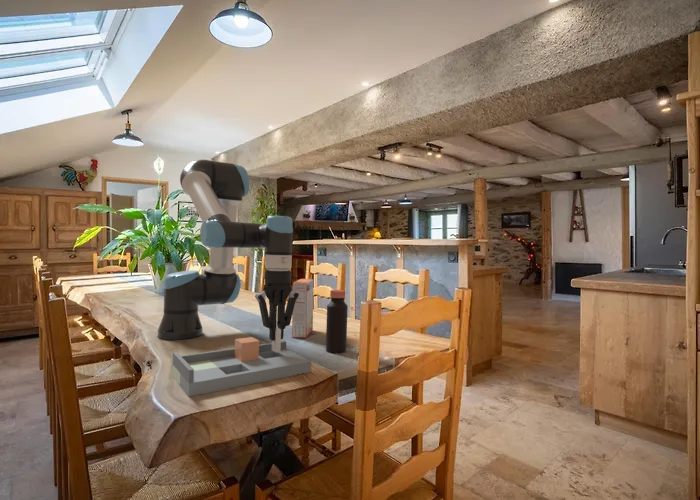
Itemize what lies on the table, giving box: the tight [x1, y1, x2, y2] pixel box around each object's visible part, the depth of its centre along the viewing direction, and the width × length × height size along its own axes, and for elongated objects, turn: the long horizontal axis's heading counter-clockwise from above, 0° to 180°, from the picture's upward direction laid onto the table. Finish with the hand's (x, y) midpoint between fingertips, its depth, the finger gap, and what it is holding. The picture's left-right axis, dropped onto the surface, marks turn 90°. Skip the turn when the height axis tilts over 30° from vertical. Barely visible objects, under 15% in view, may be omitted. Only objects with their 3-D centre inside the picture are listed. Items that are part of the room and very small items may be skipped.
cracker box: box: [291, 278, 315, 339], centre depth 150 cm, size 14×6×21 cm, turn 175°
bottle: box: [325, 289, 349, 354], centre depth 128 cm, size 7×7×20 cm
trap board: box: [172, 340, 312, 397], centre depth 103 cm, size 16×32×6 cm, turn 127°
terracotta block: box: [234, 336, 260, 362], centre depth 107 cm, size 5×5×5 cm
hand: (276, 350), depth 112 cm, fingers closed
